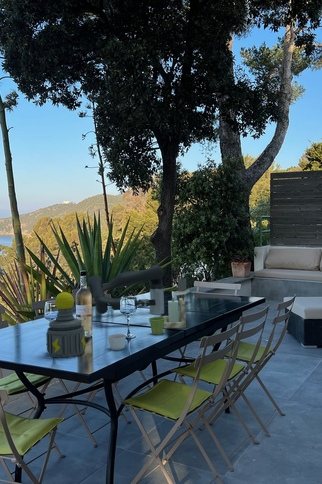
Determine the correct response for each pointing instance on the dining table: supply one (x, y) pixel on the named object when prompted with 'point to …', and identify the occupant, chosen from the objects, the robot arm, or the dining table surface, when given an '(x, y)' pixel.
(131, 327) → the dining table surface
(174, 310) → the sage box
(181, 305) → the beige l-shaped stand
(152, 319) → the plant pot
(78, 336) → the decorative lamp
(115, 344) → the candle
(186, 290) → the architectural model
